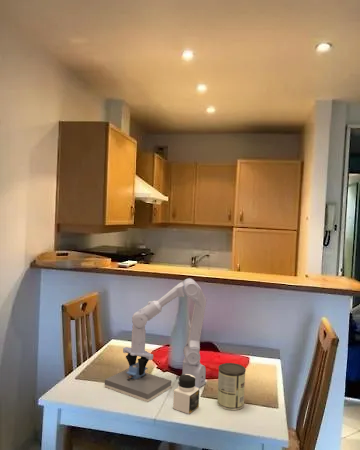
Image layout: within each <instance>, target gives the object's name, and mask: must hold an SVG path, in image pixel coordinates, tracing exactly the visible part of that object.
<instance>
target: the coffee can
mask: <svg viewBox="0 0 360 450" xmlns="http://www.w3.org/2000/svg"><path fill="white" fill-rule="evenodd" d="M246 370H247V369H246V366H244V365H241V364H239V363H234V362H233V363H232V362H226V363H221V364H219V365H218V376H217V377H218V379H217V380H218V382H217V406H218V407H219V408H220V409H223V410H228V411H238V410H241V409H243V408H244V407H245V403H244V402H245V388H246V387H245V386H246V385H245V384H246Z"/></svg>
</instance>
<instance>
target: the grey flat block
mask: <svg viewBox="0 0 360 450" xmlns="http://www.w3.org/2000/svg"><path fill="white" fill-rule="evenodd" d="M128 371H129V367H128V368H126V369H125V370H122V371H119V372H118V373H116V374H114V375H111V376H109V377H107V378H105V379H104V388H107V389H110V390H112V391H114V392H118V393H121V394H124V395H127V396H130V397H133V398H135V399H137V400H141V401H143V402H146V403H149V402H150V401H151V400H153V399H155V398H157V397H159V396H160V395H162V394H163V393H165V392H167V391H168V390H170V389H171V388H172V380H170V379H168V378H164V377H160V376H158V375H155V374H152V373H147V372H145V375H144V376H142V377H140V378H138V379H133V378H129V374H127V373H126V372H128Z"/></svg>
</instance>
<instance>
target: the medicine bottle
mask: <svg viewBox="0 0 360 450" xmlns="http://www.w3.org/2000/svg"><path fill="white" fill-rule="evenodd" d="M178 378H179V379H178V382H179V383H178V386H177V387H176V388H175V389H174V390H173V400H172V401H173V402H172V403H173V404H172V406H173V407H172V409H174V410H177V411H179V412H182V413H184V414H187V415H189V414H191V413H193V412H194V411H195V410H196V409H198V408H199V405H200V387H199V388H196V387H195V377H194V376H193V375H190V374H184V375H182V374H181V375H180V376H179V377H178Z"/></svg>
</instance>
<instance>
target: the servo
mask: <svg viewBox="0 0 360 450" xmlns="http://www.w3.org/2000/svg"><path fill="white" fill-rule="evenodd" d="M128 368H129V371H128V372H126V373H127V374H129V378H133V379H138V378H140V377H142V376H144V375H145V373H146V370H148V367H145V370H144V374H142V375H139V363H138V362H136V363H135V364H133V365H131V366H128Z"/></svg>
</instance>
